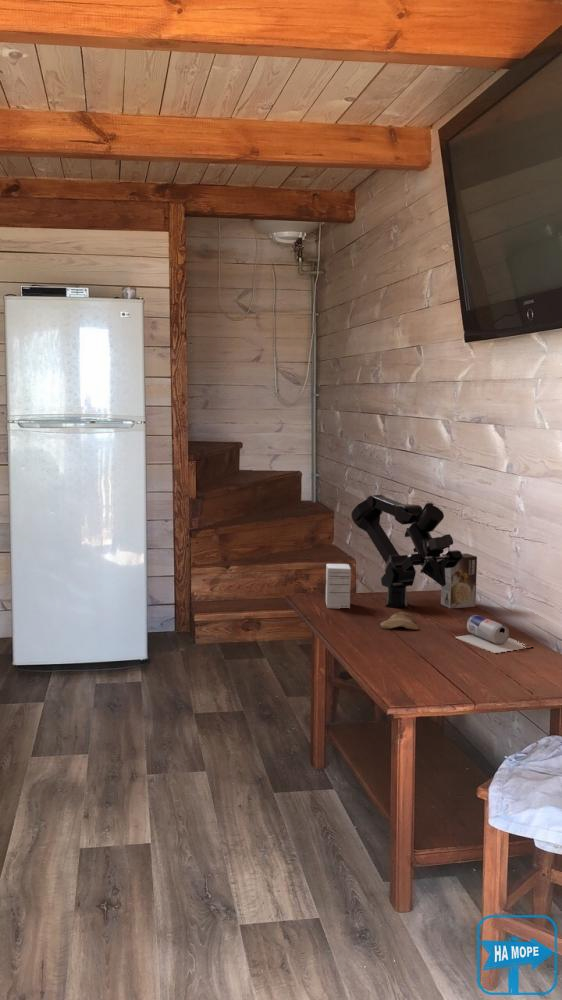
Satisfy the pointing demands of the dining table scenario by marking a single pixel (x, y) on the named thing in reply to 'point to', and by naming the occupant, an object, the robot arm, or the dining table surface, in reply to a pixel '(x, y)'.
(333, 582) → the supplement box
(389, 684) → the dining table surface
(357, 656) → the dining table surface
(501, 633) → the energy drink
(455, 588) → the coffee box
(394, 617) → the pottery shard
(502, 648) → the white mat
